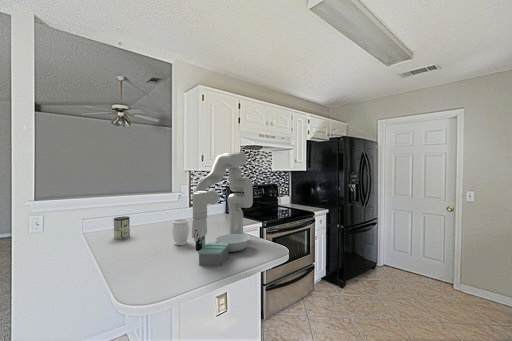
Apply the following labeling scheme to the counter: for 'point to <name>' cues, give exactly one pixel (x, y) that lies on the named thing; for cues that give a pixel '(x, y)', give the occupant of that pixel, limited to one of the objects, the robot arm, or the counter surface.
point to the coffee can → (121, 227)
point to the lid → (212, 247)
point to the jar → (180, 231)
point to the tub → (213, 258)
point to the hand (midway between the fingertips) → (200, 249)
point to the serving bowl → (234, 241)
